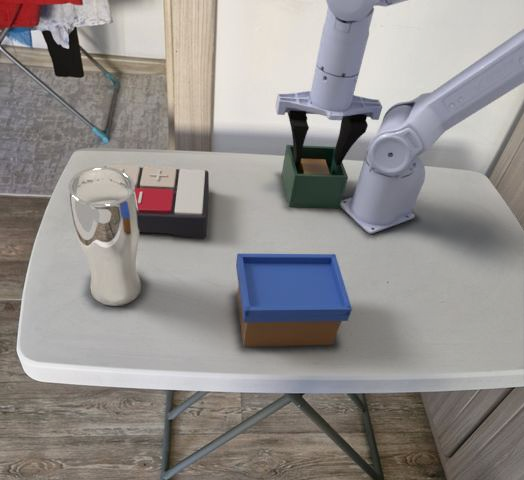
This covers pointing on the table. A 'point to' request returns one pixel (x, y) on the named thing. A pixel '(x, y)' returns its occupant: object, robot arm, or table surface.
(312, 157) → the green storage bin
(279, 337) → the lidded box
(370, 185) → the robot arm
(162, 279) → the table surface
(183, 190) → the calculator
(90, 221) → the beer glass
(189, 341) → the table surface
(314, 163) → the block
